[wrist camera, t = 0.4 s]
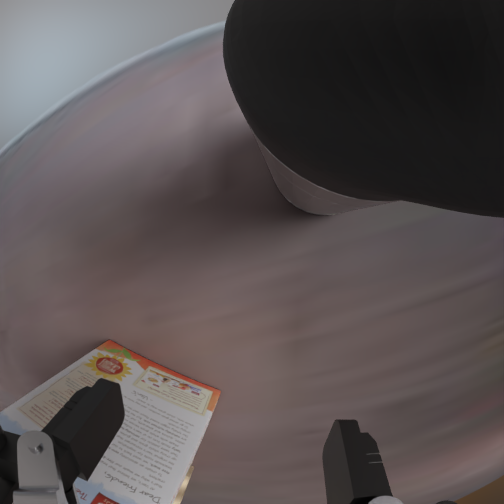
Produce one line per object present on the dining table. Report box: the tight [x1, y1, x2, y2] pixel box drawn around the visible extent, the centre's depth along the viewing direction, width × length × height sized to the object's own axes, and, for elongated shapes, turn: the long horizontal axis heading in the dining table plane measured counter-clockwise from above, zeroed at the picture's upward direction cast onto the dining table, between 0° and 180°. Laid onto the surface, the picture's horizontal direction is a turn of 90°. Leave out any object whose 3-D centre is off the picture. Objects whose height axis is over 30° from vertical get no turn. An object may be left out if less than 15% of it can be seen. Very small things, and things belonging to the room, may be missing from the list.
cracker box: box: [0, 340, 221, 504], centre depth 20 cm, size 14×6×21 cm, turn 71°
